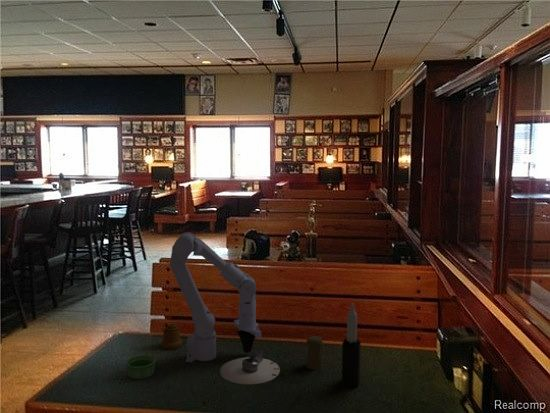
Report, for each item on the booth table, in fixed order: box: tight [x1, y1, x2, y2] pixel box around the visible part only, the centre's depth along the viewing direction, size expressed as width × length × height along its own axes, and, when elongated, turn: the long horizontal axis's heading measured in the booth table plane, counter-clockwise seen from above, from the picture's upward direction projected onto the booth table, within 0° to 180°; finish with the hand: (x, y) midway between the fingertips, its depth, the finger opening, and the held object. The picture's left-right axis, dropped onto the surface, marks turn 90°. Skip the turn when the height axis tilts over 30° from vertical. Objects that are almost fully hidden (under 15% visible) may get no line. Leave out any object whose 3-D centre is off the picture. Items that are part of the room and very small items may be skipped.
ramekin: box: [125, 354, 156, 380], centre depth 146 cm, size 9×9×4 cm
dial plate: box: [219, 356, 281, 385], centre depth 146 cm, size 19×19×2 cm
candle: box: [341, 302, 362, 388], centre depth 140 cm, size 5×5×25 cm
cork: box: [305, 335, 324, 376], centre depth 149 cm, size 6×6×11 cm
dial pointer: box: [242, 350, 264, 372], centre depth 148 cm, size 10×5×3 cm, turn 155°
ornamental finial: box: [160, 323, 183, 351], centre depth 168 cm, size 8×8×8 cm
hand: (247, 351), depth 157 cm, fingers closed
